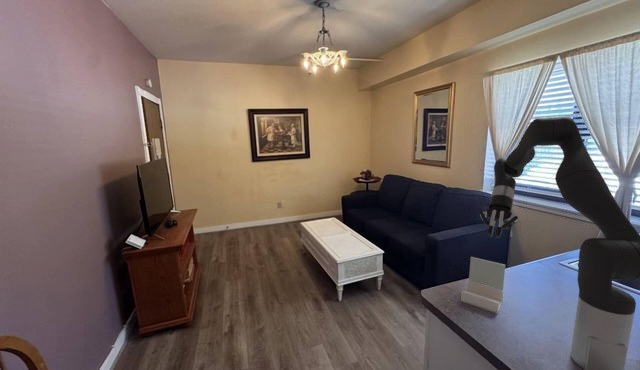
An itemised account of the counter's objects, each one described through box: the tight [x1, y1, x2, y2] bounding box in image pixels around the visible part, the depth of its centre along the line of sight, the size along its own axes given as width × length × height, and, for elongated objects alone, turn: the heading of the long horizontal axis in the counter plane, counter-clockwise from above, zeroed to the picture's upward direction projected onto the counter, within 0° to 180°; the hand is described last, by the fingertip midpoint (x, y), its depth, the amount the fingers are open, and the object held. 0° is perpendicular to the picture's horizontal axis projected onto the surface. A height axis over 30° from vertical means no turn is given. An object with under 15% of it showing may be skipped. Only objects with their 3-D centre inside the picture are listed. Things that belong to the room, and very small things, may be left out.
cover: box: [468, 256, 506, 291], centre depth 95 cm, size 11×9×1 cm
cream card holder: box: [460, 280, 504, 315], centre depth 92 cm, size 11×9×4 cm
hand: (493, 236), depth 100 cm, fingers closed
